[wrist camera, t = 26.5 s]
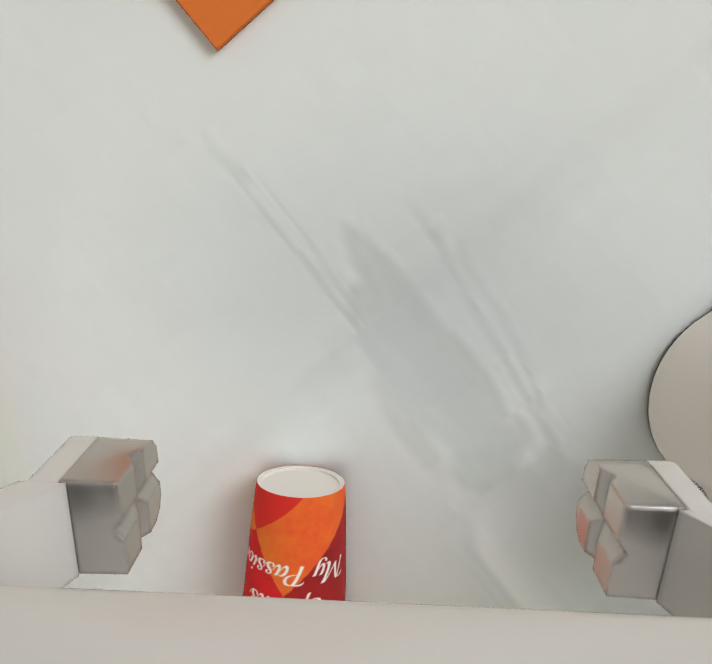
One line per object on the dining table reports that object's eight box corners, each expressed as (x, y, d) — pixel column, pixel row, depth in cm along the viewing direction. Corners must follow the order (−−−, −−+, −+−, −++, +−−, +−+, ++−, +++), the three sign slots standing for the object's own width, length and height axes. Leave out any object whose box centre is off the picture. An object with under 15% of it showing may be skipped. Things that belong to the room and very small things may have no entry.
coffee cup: (351, 512, 36) (335, 742, 37) (369, 467, 44) (356, 658, 46) (217, 495, 37) (208, 718, 39) (259, 454, 45) (250, 640, 47)
